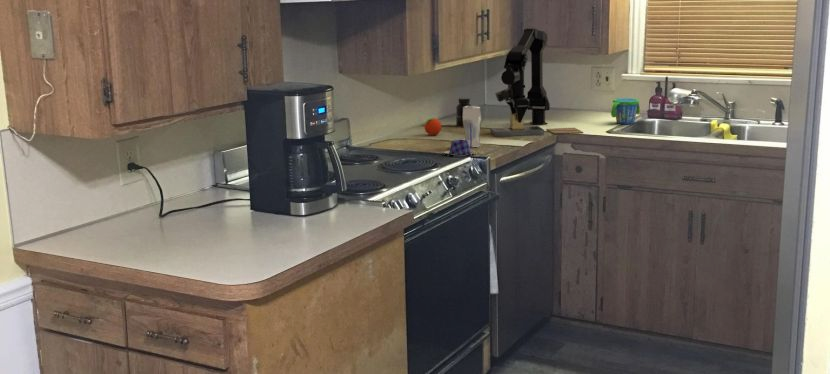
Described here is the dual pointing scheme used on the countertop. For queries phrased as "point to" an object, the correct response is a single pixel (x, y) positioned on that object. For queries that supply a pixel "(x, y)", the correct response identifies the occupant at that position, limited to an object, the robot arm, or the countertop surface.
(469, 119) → the beer glass
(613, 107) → the snack cup
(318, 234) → the countertop surface
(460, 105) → the supplement bottle
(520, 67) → the robot arm
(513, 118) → the wood grain block
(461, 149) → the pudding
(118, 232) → the countertop surface
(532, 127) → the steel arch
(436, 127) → the clementine
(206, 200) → the countertop surface
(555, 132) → the copper pad
